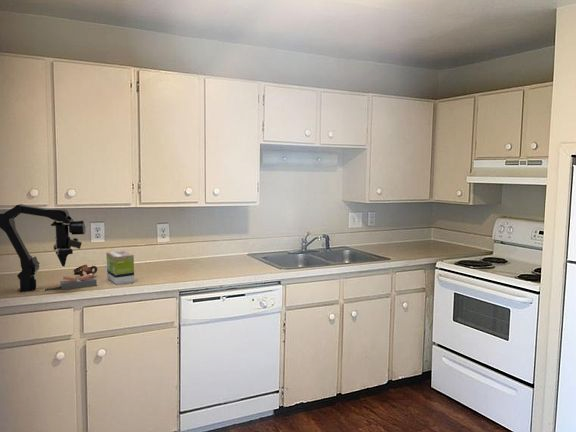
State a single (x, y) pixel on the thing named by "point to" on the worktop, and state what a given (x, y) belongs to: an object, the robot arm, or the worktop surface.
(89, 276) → the rocker right
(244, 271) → the worktop surface
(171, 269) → the worktop surface
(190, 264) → the worktop surface
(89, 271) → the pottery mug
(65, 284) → the power strip
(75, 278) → the rocker left
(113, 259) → the tea box
